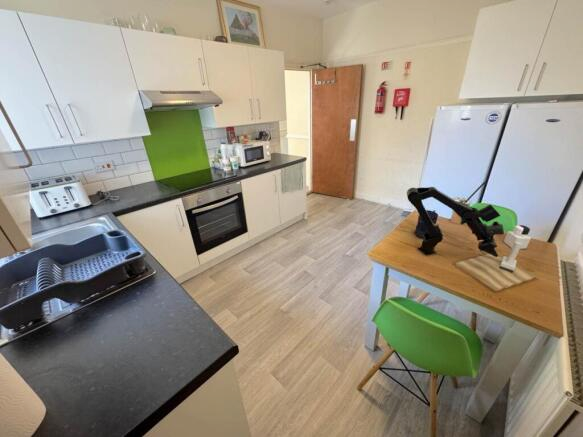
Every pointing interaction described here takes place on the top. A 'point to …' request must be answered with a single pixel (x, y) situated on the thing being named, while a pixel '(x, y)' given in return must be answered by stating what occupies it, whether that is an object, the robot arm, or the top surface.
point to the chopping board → (493, 272)
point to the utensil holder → (454, 216)
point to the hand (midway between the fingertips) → (496, 251)
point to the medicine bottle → (518, 236)
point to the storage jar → (421, 226)
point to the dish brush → (511, 258)
